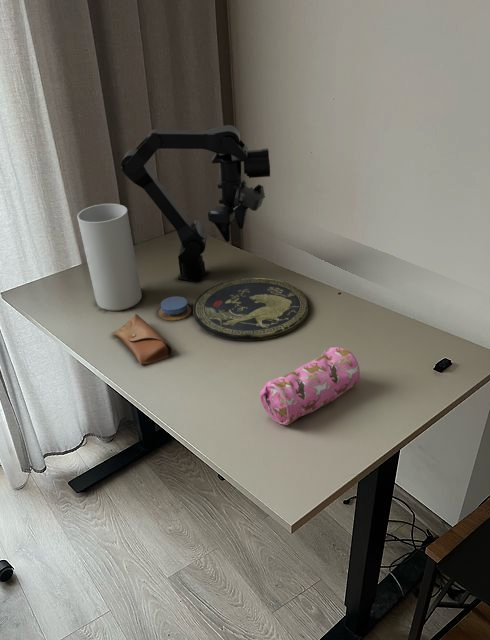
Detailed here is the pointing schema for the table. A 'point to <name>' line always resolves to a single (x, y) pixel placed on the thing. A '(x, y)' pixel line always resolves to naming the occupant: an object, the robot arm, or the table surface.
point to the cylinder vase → (110, 256)
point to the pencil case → (310, 385)
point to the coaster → (175, 317)
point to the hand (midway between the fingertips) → (234, 234)
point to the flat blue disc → (174, 305)
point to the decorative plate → (250, 309)
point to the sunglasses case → (143, 341)
